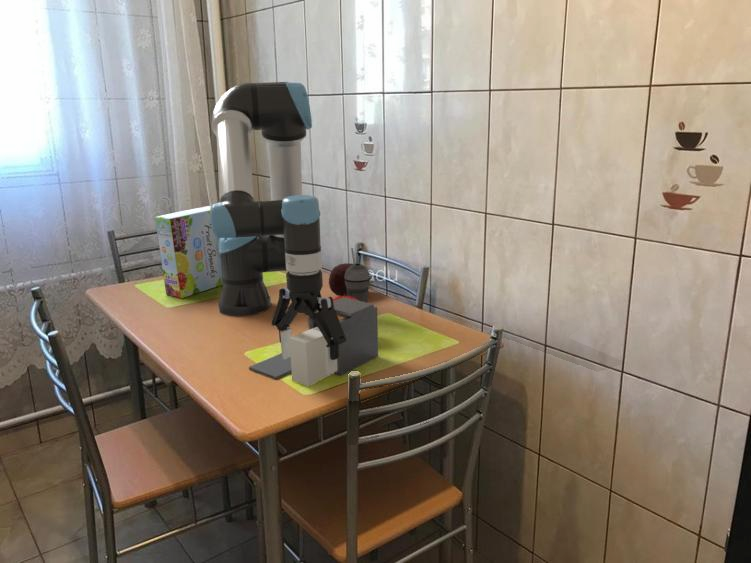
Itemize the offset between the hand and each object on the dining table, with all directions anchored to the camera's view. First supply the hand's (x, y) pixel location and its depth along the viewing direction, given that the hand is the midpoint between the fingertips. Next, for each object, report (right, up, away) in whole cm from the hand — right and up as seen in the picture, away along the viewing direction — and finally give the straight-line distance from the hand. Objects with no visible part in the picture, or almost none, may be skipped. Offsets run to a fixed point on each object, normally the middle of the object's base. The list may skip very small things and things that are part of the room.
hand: (309, 364), depth 136 cm
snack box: (-43, +16, +69) cm, 83 cm away
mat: (-6, -1, +9) cm, 11 cm away
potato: (+6, +14, +58) cm, 60 cm away
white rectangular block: (+3, -2, +4) cm, 5 cm away
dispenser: (+7, 0, +9) cm, 12 cm away
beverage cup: (+10, +8, +38) cm, 40 cm away
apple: (+7, +4, +24) cm, 25 cm away
